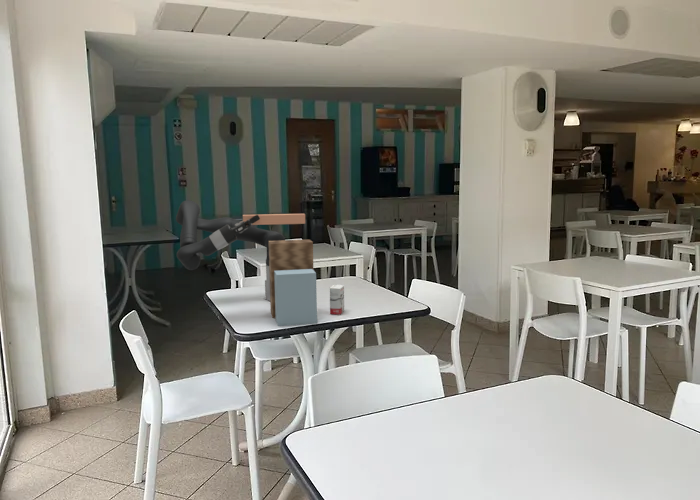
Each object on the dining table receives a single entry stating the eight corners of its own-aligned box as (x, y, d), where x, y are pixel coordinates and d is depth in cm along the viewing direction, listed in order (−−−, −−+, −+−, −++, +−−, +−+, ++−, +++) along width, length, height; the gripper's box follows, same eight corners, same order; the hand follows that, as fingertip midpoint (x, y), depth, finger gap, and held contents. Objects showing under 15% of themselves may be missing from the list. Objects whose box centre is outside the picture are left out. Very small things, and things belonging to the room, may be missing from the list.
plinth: (272, 318, 234) (270, 243, 230) (270, 312, 244) (268, 240, 240) (314, 315, 238) (312, 242, 234) (310, 309, 248) (309, 239, 244)
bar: (243, 225, 229) (243, 215, 229) (243, 224, 233) (242, 214, 233) (305, 223, 235) (305, 214, 235) (303, 222, 239) (303, 213, 238)
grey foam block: (277, 326, 222) (276, 274, 219) (275, 319, 232) (274, 270, 229) (317, 323, 225) (316, 272, 223) (313, 317, 235) (312, 268, 232)
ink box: (340, 315, 238) (340, 288, 237) (329, 314, 239) (329, 288, 238) (344, 310, 247) (344, 284, 245) (334, 309, 248) (333, 284, 246)
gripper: (218, 231, 222) (254, 209, 224) (218, 228, 236) (252, 207, 238) (228, 247, 224) (264, 225, 226) (227, 242, 238) (262, 222, 240)
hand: (258, 216), depth 232 cm, fingers closed on bar, 4 cm apart
